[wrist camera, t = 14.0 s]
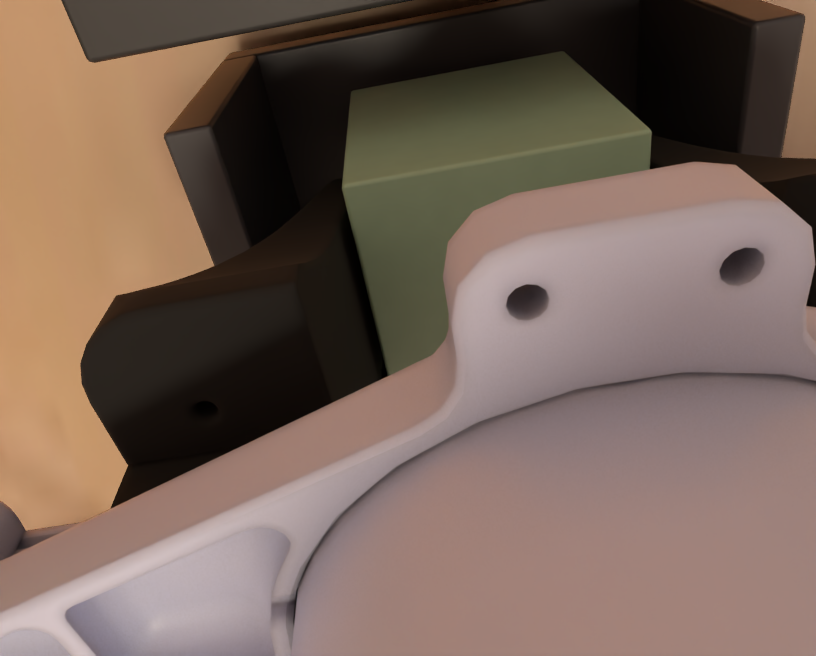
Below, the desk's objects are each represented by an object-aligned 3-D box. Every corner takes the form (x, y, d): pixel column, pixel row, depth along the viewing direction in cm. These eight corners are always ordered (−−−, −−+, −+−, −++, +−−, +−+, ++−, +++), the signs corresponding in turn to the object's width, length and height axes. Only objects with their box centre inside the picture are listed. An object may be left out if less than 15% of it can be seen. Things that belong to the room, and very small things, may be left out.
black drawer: (56, -393, 11) (-214, -626, 6) (722, -553, 10) (1061, -967, 5) (312, 378, 21) (293, 539, 16) (661, 321, 20) (758, 470, 15)
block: (564, 49, 13) (653, 129, 9) (569, 242, 15) (641, 373, 11) (349, 89, 13) (340, 185, 9) (389, 273, 16) (395, 412, 12)
